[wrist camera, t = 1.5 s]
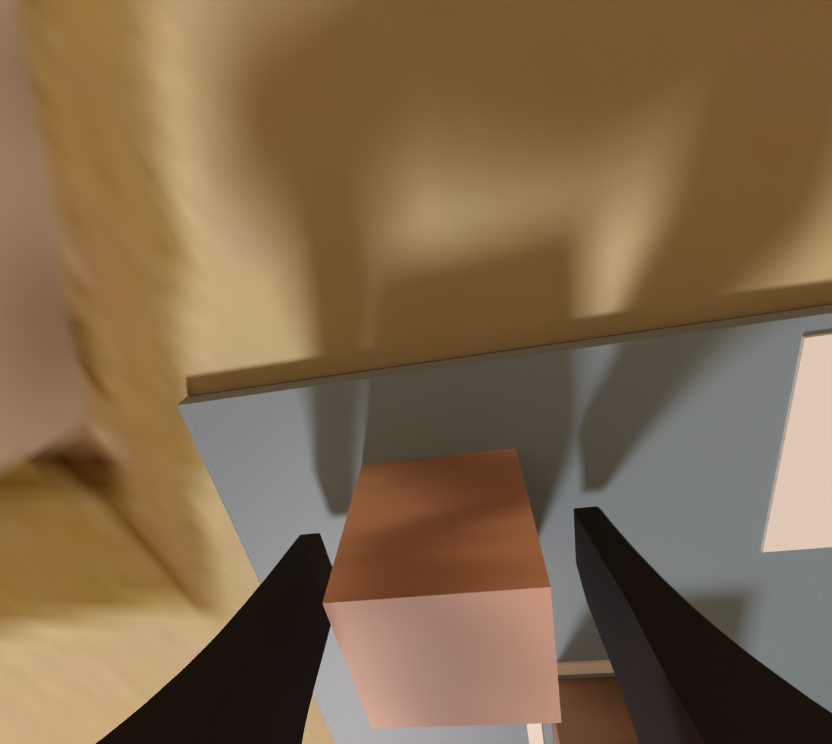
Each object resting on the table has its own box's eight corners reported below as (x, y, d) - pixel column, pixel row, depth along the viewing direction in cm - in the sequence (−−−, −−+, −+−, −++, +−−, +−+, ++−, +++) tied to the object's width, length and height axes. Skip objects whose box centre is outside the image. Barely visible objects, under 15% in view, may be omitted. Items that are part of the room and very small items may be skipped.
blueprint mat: (1069, 270, 10) (1109, 276, 9) (862, 748, 18) (876, 767, 17) (186, 396, 13) (173, 408, 12) (351, 759, 21) (348, 776, 20)
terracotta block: (515, 447, 12) (550, 587, 8) (528, 562, 14) (561, 722, 10) (361, 465, 13) (322, 603, 9) (392, 573, 15) (372, 728, 11)
